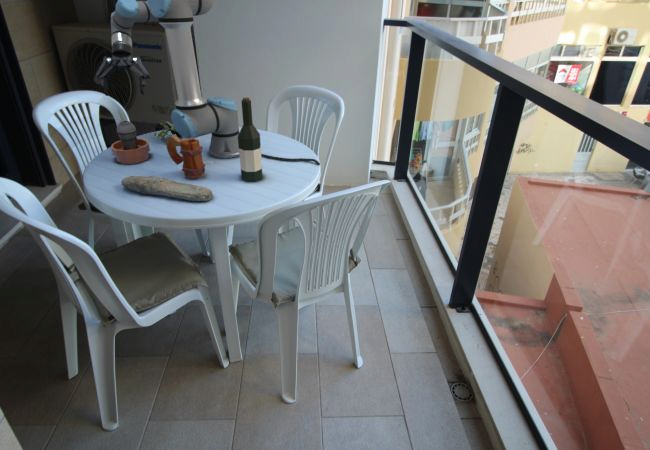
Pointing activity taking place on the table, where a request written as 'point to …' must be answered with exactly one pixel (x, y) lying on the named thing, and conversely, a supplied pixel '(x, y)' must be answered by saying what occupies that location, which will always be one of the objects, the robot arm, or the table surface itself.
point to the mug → (187, 155)
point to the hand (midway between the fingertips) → (124, 93)
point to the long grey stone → (167, 188)
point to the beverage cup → (127, 134)
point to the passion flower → (167, 127)
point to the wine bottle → (249, 146)
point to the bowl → (131, 152)
